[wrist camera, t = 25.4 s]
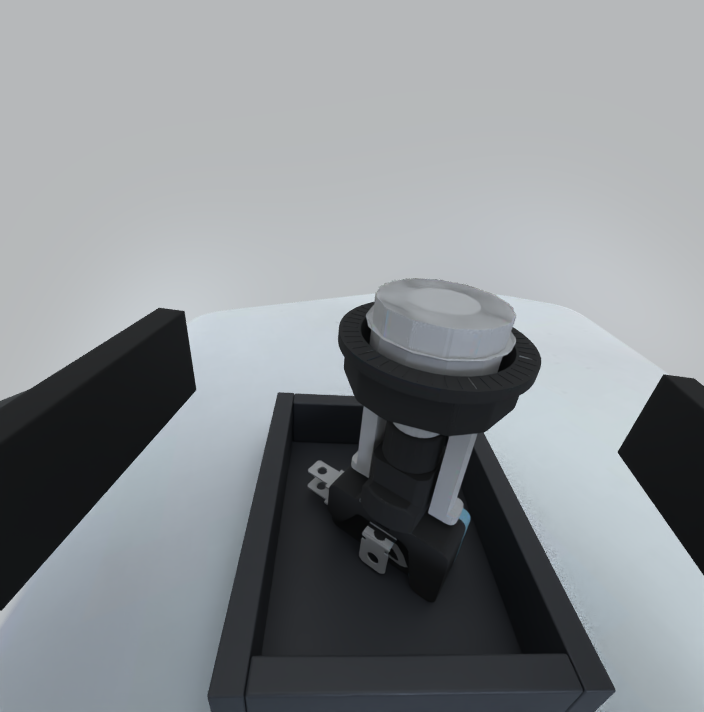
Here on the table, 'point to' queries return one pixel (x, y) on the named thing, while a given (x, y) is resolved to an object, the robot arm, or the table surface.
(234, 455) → the table surface
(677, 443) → the robot arm
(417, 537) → the push button
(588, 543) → the table surface
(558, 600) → the tray
